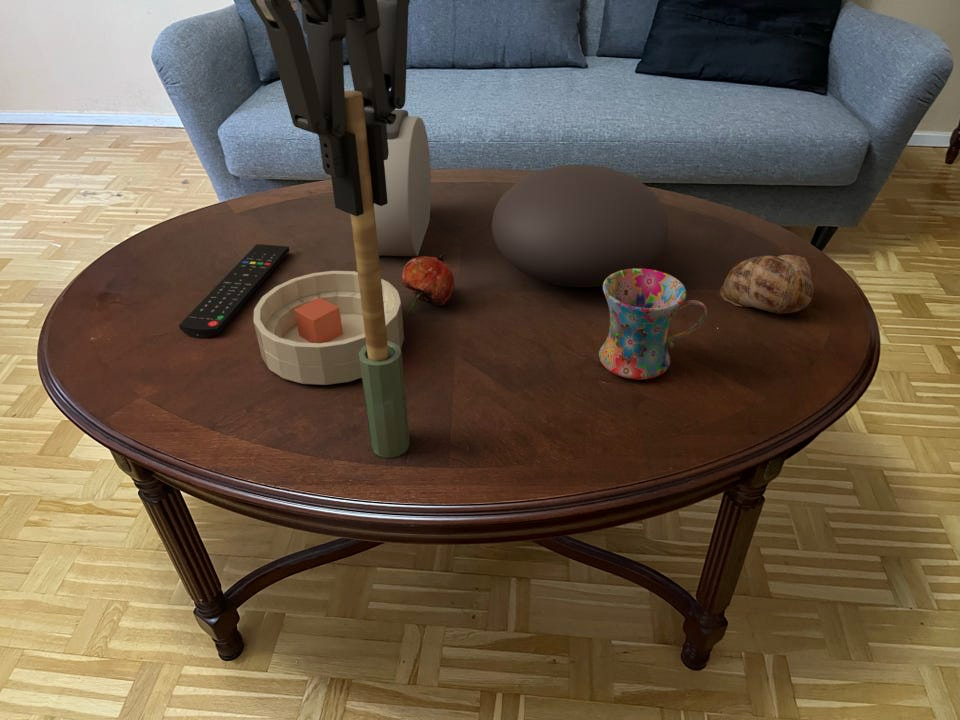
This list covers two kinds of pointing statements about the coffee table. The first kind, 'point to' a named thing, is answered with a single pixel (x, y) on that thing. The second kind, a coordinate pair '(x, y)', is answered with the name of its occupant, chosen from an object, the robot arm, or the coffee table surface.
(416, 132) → the alarm clock
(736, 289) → the seashell
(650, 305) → the mug
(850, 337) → the coffee table surface
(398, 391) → the holder
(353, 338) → the bowl
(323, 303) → the block
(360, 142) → the stick
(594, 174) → the flattened ellipsoid
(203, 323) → the remote control
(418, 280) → the pomegranate
